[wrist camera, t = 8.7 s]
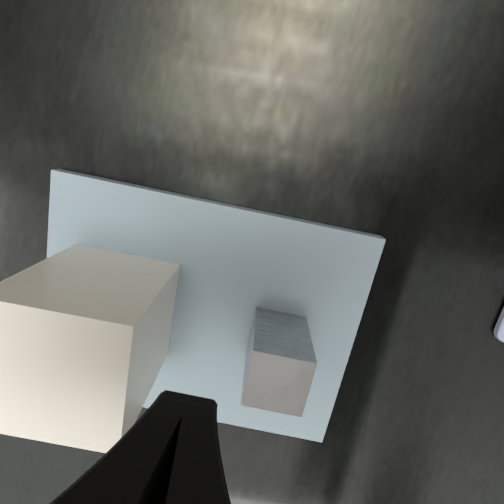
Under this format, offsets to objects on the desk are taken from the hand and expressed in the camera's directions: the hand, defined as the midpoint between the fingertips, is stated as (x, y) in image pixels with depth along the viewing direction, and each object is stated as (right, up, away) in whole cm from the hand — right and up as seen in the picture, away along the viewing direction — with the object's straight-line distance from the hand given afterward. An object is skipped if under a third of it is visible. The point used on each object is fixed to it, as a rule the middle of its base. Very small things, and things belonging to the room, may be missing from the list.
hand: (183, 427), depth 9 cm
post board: (-1, +1, +11) cm, 11 cm away
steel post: (+3, 0, +11) cm, 11 cm away
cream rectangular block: (-5, +2, +10) cm, 11 cm away
